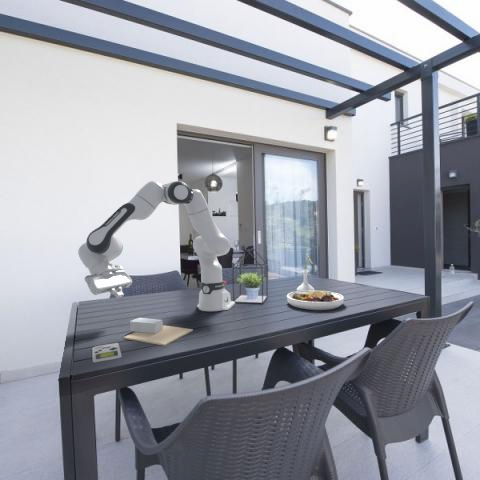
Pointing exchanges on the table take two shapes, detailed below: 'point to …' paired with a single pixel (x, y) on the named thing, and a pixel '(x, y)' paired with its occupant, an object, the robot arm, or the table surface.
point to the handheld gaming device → (106, 352)
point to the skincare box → (146, 325)
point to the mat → (160, 335)
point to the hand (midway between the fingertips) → (120, 296)
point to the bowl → (315, 300)
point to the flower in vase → (305, 279)
